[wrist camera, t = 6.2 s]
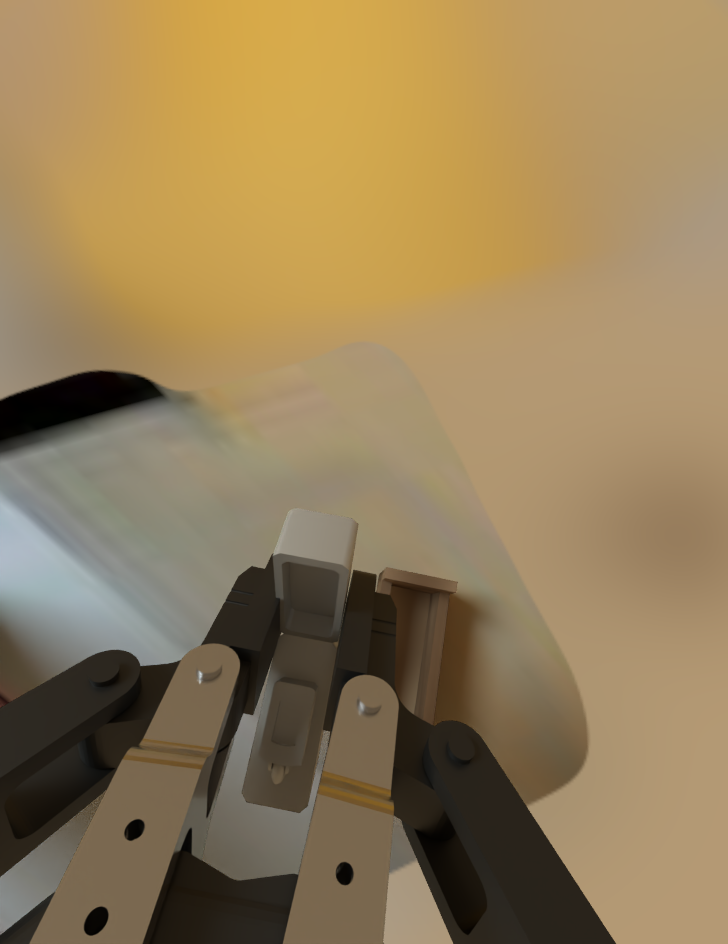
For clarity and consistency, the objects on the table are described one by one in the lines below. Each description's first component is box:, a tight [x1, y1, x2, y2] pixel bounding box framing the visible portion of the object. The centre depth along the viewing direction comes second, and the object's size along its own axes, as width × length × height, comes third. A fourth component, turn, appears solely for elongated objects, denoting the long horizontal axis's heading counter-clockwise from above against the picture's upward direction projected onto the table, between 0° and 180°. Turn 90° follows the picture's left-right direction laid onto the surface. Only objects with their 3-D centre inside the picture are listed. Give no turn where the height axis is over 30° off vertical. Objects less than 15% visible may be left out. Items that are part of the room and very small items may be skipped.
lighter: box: [242, 508, 358, 813], centre depth 12 cm, size 7×2×8 cm, turn 170°
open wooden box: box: [376, 567, 458, 725], centre depth 25 cm, size 4×9×4 cm, turn 169°
